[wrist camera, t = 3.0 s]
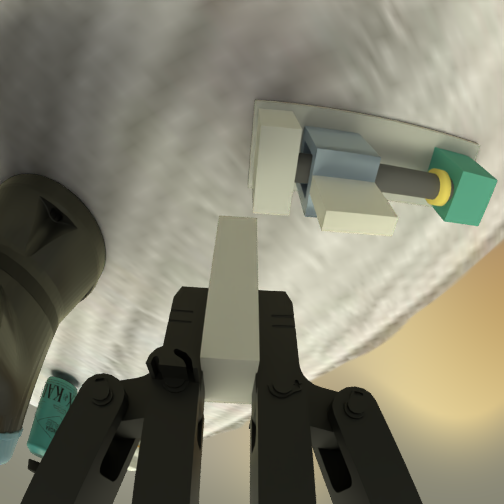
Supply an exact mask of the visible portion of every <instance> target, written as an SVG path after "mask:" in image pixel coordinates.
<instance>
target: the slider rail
mask: <svg viewBox="0 0 504 504" xmlns="http://www.w3.org/2000/svg"><path fill="white" fill-rule="evenodd" d="M305 126H311V127H319V128H327V129H334V130H341V131H347V132H353V133H359V134H360V135H361V136H362V137H363V138H364V139H365V141H366V142H367V143H368V144H369V145H370V146H371V147H372V148H373V149H374V150H375V151H376V152H377V153H378V155H379V156H380V157H381V160H380V164H379V168H378V172H377V176H376V179H375V184H376V185H377V187H378V188H379V189H380V191H381V192H382V194H383V195H384V197H385V198H386V200H387V201H392V202H400V203H407V204H414V205H421V206H428V207H433V208H434V209H435V210H436V212H437V213H438V214H439V215H440V217H441V218H442V219H443V221H445V222H453V223H460V224H467V225H474V226H479V223H480V221H481V219H482V217H483V214H484V212H485V210H486V208H487V205H488V203H489V201H490V198H491V196H492V193H493V191H494V188H495V186H496V183H497V179H495V178H494V177H493V176H492V175H491V174H490V173H488V172H487V171H486V170H485V169H484V168H483V167H481V166H480V165H479V164H478V163H476V162H475V160H476V157H477V154H478V150H479V147H480V145H478V144H477V143H475V142H472V141H469V140H465V139H462V138H459V137H456V136H453V135H449V134H446V133H442V132H439V131H435V130H432V129H428V128H424V127H421V126H417V125H413V124H409V123H404V122H400V121H396V120H391V119H387V118H382V117H377V116H373V115H368V114H362V113H357V112H351V111H346V110H340V109H333V108H327V107H320V106H313V105H305V104H297V103H288V102H278V101H267V100H255V105H254V117H253V129H252V141H251V153H250V165H249V177H248V188H252V195H253V213H256V214H272V215H286V216H289V212H290V206H291V200H292V194H293V191H298V190H297V186H296V183H305V184H308V180H309V174H310V169H311V163H312V157H313V156H312V154H307V153H301V147H302V141H303V134H304V127H305Z"/></svg>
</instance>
